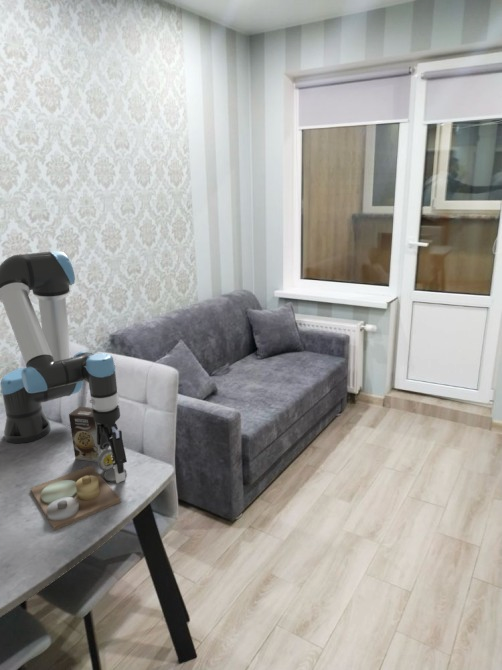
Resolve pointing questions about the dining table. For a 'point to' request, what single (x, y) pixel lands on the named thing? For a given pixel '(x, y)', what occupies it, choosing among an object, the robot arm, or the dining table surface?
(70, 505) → the tray
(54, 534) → the dining table surface
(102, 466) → the pocket watch
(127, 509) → the dining table surface
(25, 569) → the dining table surface
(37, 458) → the dining table surface
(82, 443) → the coffee box
